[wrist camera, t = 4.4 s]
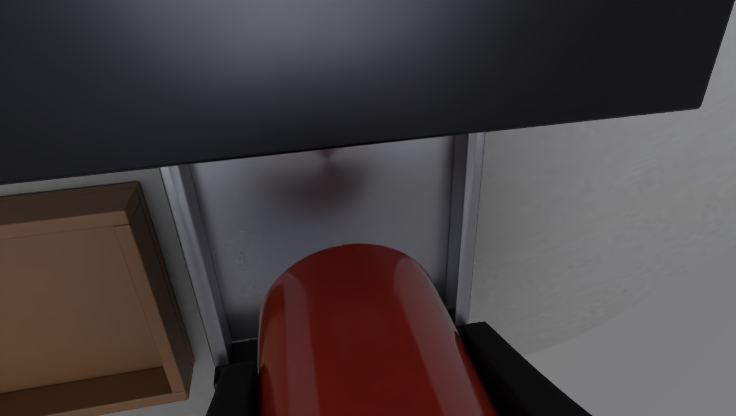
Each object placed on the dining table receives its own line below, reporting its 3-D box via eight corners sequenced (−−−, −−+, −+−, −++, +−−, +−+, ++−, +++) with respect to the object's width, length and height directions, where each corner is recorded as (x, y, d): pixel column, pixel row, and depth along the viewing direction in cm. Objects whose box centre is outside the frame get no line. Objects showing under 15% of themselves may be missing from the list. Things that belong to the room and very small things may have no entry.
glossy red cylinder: (433, 365, 15) (523, 589, 10) (271, 394, 14) (276, 653, 9) (439, 229, 12) (564, 436, 7) (243, 256, 12) (228, 506, 7)
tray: (194, 360, 20) (188, 399, 19) (-27, 397, 19) (-56, 443, 17) (139, 180, 16) (124, 210, 14) (-152, 213, 15) (-206, 250, 13)
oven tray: (452, 310, 21) (474, 353, 19) (222, 348, 20) (217, 399, 18) (480, -109, 14) (523, -117, 11) (105, -97, 12) (70, -103, 10)
